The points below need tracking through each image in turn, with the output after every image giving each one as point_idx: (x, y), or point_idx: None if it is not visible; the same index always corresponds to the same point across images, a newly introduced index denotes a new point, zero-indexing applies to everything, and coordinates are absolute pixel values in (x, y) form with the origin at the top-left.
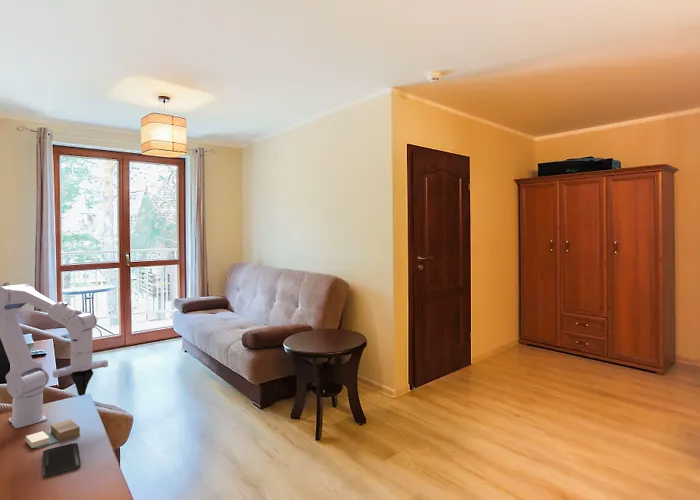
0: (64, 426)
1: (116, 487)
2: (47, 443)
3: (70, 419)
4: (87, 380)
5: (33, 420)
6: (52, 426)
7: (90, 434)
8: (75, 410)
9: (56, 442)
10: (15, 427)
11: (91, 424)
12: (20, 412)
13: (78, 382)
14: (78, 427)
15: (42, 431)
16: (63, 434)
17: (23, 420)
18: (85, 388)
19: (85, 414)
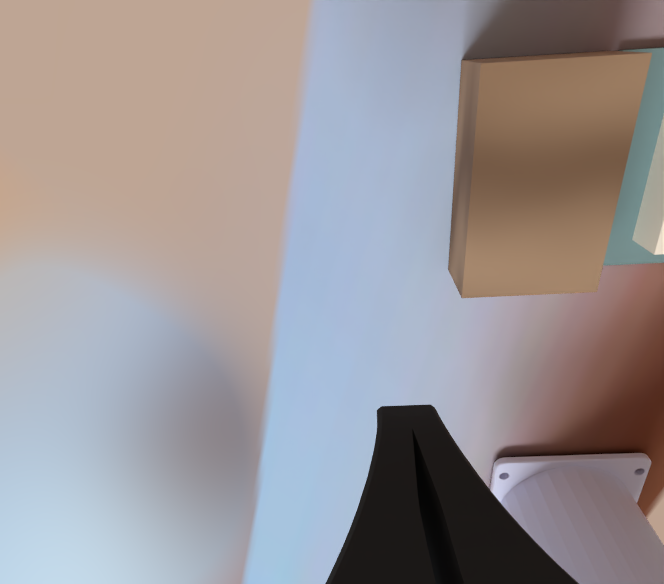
0: (554, 181)
1: None
2: None
3: (462, 294)
4: (376, 572)
5: (569, 473)
6: (604, 255)
7: (395, 5)
8: (337, 486)
9: (632, 50)
10: (649, 461)
11: (328, 215)
12: (660, 545)
13: (543, 570)
14: (490, 62)
15: (661, 247)
16: (606, 54)
17: (620, 490)
18: (387, 459)
19: (311, 402)
